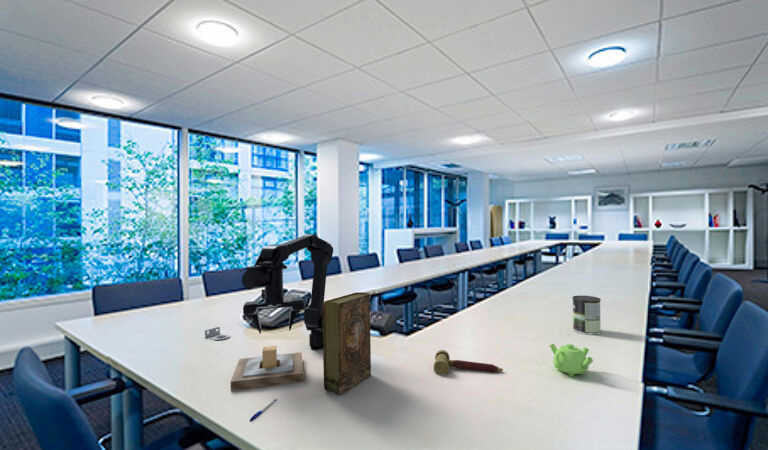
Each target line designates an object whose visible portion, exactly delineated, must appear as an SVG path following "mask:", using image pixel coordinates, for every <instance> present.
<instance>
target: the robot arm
mask: <svg viewBox="0 0 768 450" xmlns="http://www.w3.org/2000/svg"><path fill="white" fill-rule="evenodd" d="M304 249H306V250H307V251H308V252H309V253H310V260H311V262H312V264H313V274H312V275H313V276H312V284H311V285H312V286H311V294H310V295H311V296H310V304H309V305H308V307H305V301H304V298H303V297H294V298H293V297H292V298H291V300H289V301H284V300H285V299H284V296H285V295H284V279H283V278H284V274H283V270H286V269H288V266H287V265H286V264H285V263H284V262H285V261H287V260H288V259H289V257H290V256H291V255H292V254H296V253H297V252H299V251H301V250H304ZM333 255H334V247H333V246H332V244H331V243H330V242H328V241H326V240H324V239H323V238H320V237H318V235H316V234H314V233H311V234H308V233H307V234H303V235H302V236H299V237H297V238H296V237H295V238H294V239H291V240H289V241H287V242H284V243H279V244H270V245H265V246H263V247H262V248H261V251H260V253H259V255H258V257H257V259H256V261H255V263H254V265H253V266H246V268H245V270H246V271H244V273H243V274H242V277H241V283H242V286H243V287H244V288H245V290H249V291H250V290H254V289H258V288H263V287H264V289H261V294H260V295H261V300H264V302H263V303H258V300H255V301H246V302H245V303H244V304H243V306H242V310H243V311H242V314H243V315H247V317H250V318H251V319H252V321H253V322H254V323H255V326H256V328H257V330H258V334H262V324H261V320H260V311H261V310H269V309H281V308H282V309H283V308H284V309H285V308H290V310H289V311H290V312H289V320H288V321H289V322H288V331H291V329H292V327H293V323H294V320H295V319H296V317H297V314H298V313H300V312H301V310H303V318H302V319H303V323H304V325H305V328H306V331H310V333H309V334H308V337H309V340H308V343H309V348H310V349H311V350H319V349H322V350H323V302H324V301H325V295H326V282H327V274H328V273H327V269H328V266H329V264H331V263H330V262H331V261H332V260H333Z"/></svg>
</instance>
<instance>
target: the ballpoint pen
mask: <svg viewBox="0 0 768 450" xmlns="http://www.w3.org/2000/svg"><path fill="white" fill-rule="evenodd" d="M275 401H277V398H275V399H273V400H272V401H270V402H269V403H268V404H267V405H266V406H265V407H263V408H262V409H261V410H259V411H257V412H256V413H254V414H253V415H252V416H251V417H250V419H249V422H253V421H254V420H255V419H257V418H258V417H259V416H260V415H261V414H263V413H264V411H266V410H267V409H268V408H270V407H271V406H272V405H273V404H275V403H276V402H275Z"/></svg>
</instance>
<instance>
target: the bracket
mask: <svg viewBox="0 0 768 450" xmlns="http://www.w3.org/2000/svg"><path fill="white" fill-rule="evenodd" d="M230 336H231V335H228V334H221V328H220V326H217V327H214V328H209V329H205V330H204V338H205V339H209V340H211V341H212V340H213V341H220V340H226V339H229V338H230Z"/></svg>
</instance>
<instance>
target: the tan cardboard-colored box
mask: <svg viewBox="0 0 768 450" xmlns="http://www.w3.org/2000/svg"><path fill="white" fill-rule="evenodd" d="M277 347H278V346H277V345H269V346H268V345H267V346H266V345H265V346H263V348H262V350H261V351H262V357H263V368H271V367H277V355H278V353H277V349H278V348H277Z"/></svg>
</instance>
